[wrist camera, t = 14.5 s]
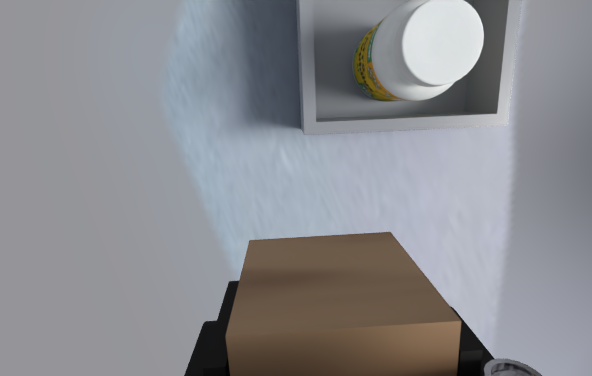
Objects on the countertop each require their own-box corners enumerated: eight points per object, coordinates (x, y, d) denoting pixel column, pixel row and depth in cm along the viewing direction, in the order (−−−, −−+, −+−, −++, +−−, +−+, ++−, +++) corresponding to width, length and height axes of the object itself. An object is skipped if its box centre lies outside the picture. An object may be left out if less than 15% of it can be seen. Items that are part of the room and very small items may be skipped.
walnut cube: (387, 350, 13) (446, 494, 8) (260, 359, 13) (246, 508, 8) (390, 232, 12) (461, 320, 7) (249, 240, 12) (225, 336, 7)
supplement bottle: (423, 96, 26) (498, 93, 17) (354, 106, 26) (391, 109, 17) (420, 20, 25) (500, -29, 15) (347, 30, 25) (383, -12, 15)
